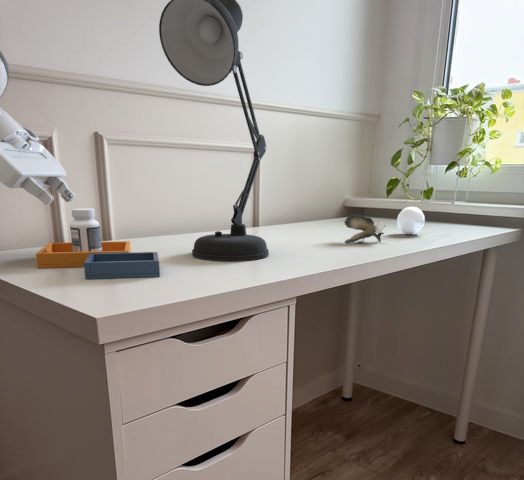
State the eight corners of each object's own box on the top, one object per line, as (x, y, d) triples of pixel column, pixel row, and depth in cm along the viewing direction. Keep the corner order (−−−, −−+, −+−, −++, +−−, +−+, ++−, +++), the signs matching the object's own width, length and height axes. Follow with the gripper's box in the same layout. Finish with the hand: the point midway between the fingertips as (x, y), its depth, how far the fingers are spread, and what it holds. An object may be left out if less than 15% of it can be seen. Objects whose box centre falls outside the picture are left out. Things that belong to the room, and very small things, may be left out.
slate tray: (85, 279, 82) (83, 262, 81) (90, 268, 91) (89, 253, 90) (159, 276, 84) (159, 260, 83) (158, 266, 93) (157, 251, 92)
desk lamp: (178, 269, 90) (164, -38, 75) (158, 248, 113) (145, 10, 98) (307, 263, 97) (318, -19, 82) (264, 244, 120) (266, 21, 105)
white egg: (410, 236, 137) (413, 208, 135) (390, 233, 143) (392, 206, 140) (435, 234, 142) (439, 206, 140) (414, 231, 148) (417, 205, 146)
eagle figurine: (373, 234, 131) (340, 227, 130) (385, 211, 126) (350, 204, 124) (378, 254, 127) (343, 248, 125) (390, 232, 121) (354, 224, 119)
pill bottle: (104, 254, 101) (99, 207, 98) (101, 259, 96) (96, 210, 93) (75, 255, 100) (70, 207, 97) (71, 260, 95) (65, 210, 92)
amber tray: (37, 268, 90) (35, 253, 89) (50, 256, 103) (48, 242, 102) (129, 265, 93) (128, 251, 92) (131, 254, 106) (130, 241, 105)
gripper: (-22, 122, 81) (47, 189, 83) (37, 133, 100) (91, 186, 103) (-45, 152, 82) (24, 217, 85) (17, 157, 102) (72, 209, 104)
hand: (61, 200), depth 94 cm, fingers open, 8 cm apart
